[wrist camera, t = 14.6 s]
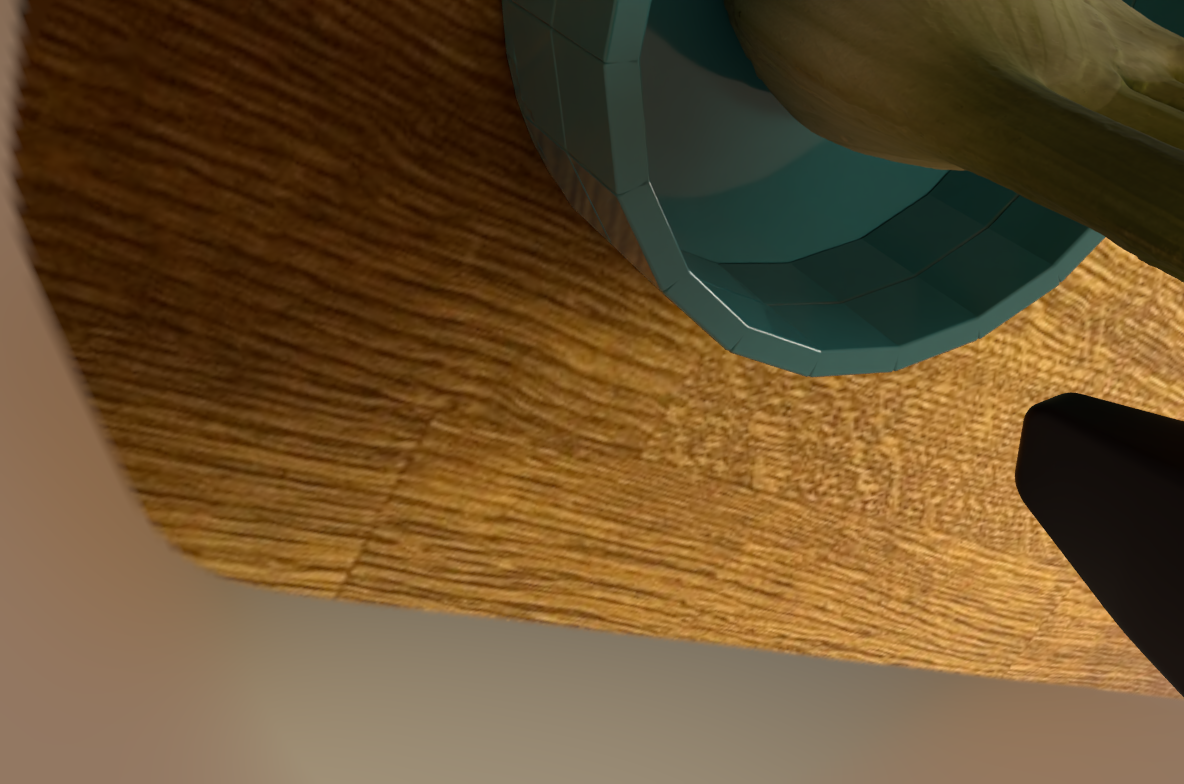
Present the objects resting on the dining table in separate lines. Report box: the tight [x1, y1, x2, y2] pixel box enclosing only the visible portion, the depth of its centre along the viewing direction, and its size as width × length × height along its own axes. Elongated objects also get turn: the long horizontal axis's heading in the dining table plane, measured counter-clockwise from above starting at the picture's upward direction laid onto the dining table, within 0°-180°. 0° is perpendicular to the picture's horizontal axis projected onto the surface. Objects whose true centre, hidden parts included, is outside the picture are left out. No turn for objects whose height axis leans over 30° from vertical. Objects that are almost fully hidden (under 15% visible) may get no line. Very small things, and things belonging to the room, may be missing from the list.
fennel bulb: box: [724, 0, 1184, 282], centre depth 17 cm, size 6×5×12 cm
